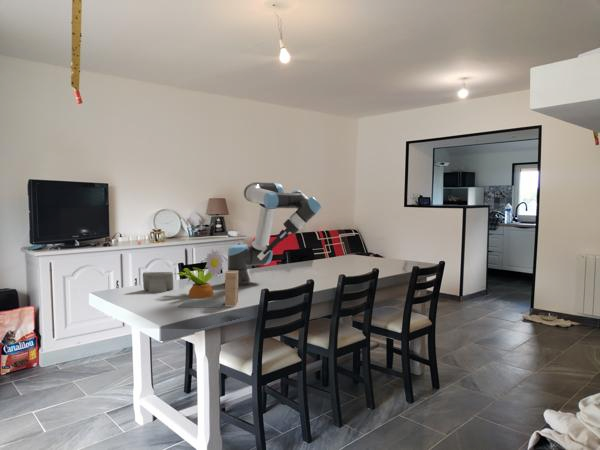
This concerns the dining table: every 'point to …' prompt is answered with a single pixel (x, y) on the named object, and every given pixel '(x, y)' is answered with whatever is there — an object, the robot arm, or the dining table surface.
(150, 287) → the digital clock
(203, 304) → the slate mat
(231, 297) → the wooden block
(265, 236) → the robot arm
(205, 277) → the decorative plant
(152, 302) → the dining table surface
